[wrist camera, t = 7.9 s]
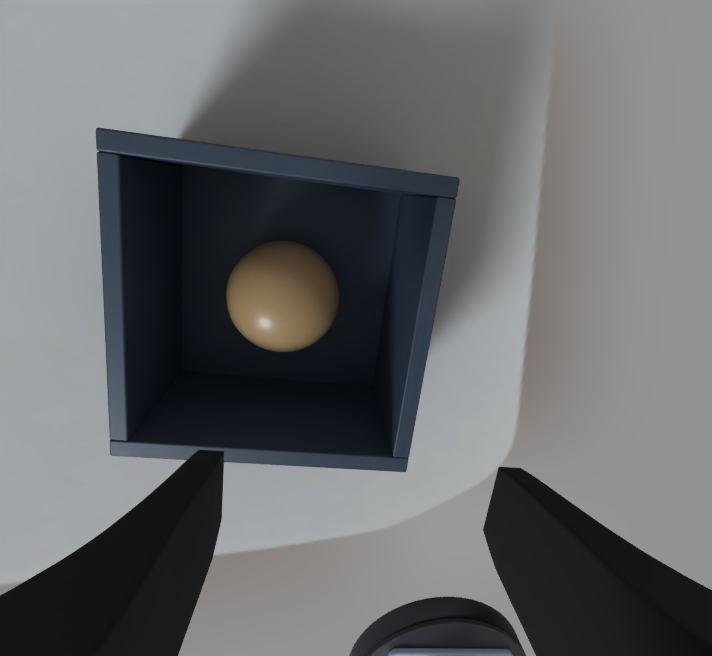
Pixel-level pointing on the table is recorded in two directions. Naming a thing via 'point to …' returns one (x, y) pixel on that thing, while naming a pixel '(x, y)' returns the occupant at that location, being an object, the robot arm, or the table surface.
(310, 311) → the brown ball
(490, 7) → the table surface
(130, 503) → the table surface
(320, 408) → the bin
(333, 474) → the table surface
